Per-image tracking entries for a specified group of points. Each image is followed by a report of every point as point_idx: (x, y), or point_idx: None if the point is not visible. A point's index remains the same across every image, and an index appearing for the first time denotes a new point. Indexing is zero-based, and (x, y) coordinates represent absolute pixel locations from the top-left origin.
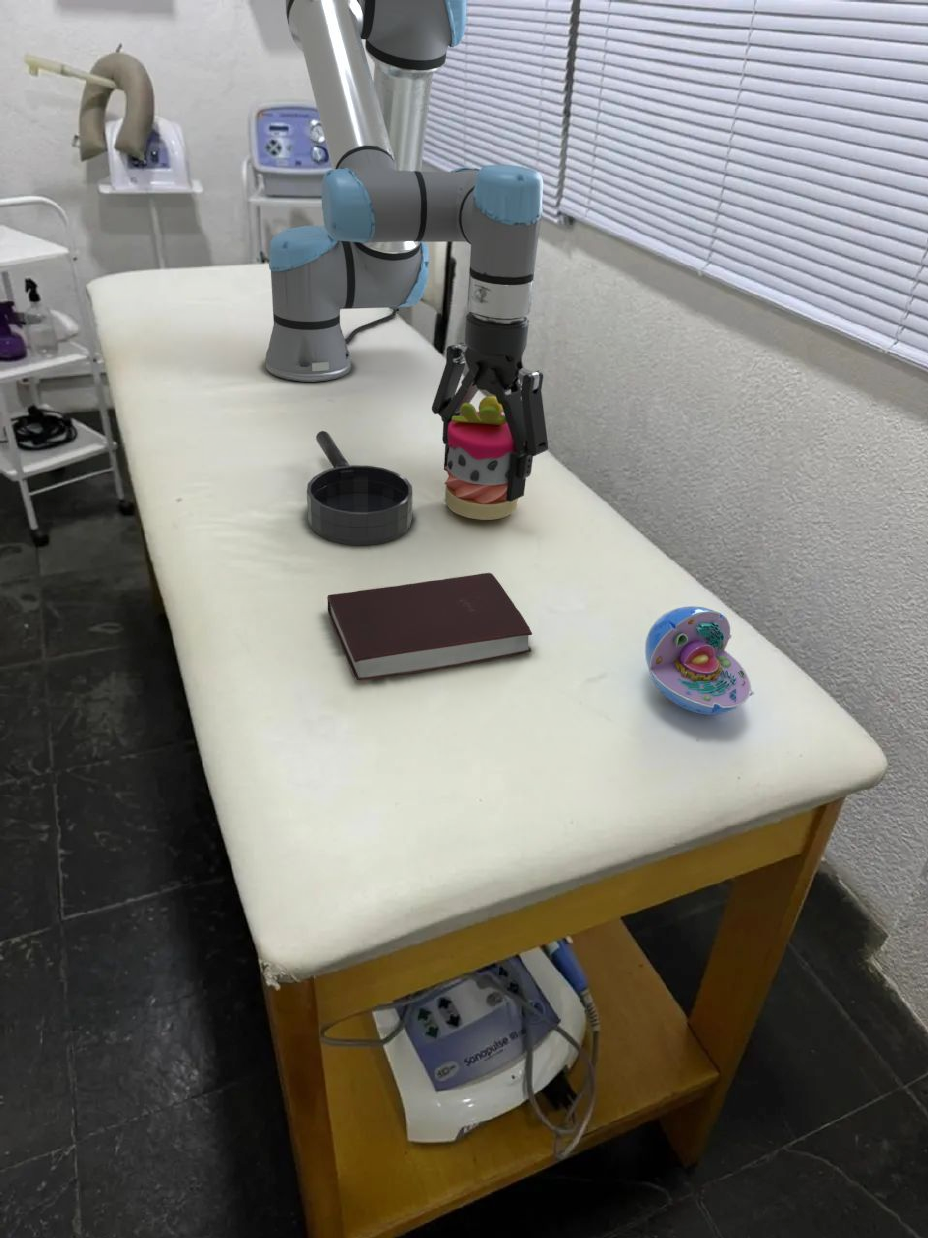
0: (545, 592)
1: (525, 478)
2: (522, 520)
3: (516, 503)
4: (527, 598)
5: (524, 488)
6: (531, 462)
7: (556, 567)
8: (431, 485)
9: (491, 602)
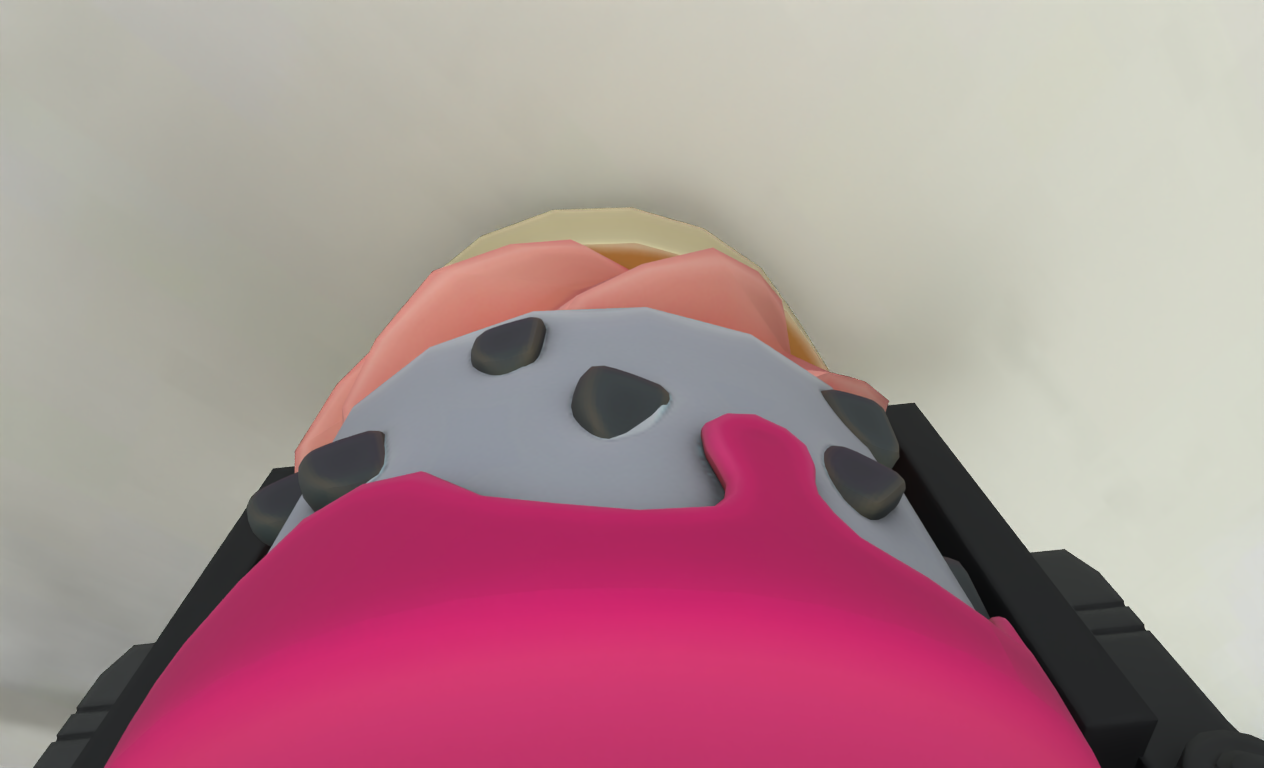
0: (1233, 583)
1: (977, 489)
2: (833, 281)
3: (805, 333)
4: (1187, 643)
5: (937, 434)
6: (1171, 668)
7: (1204, 447)
8: (223, 428)
9: None
